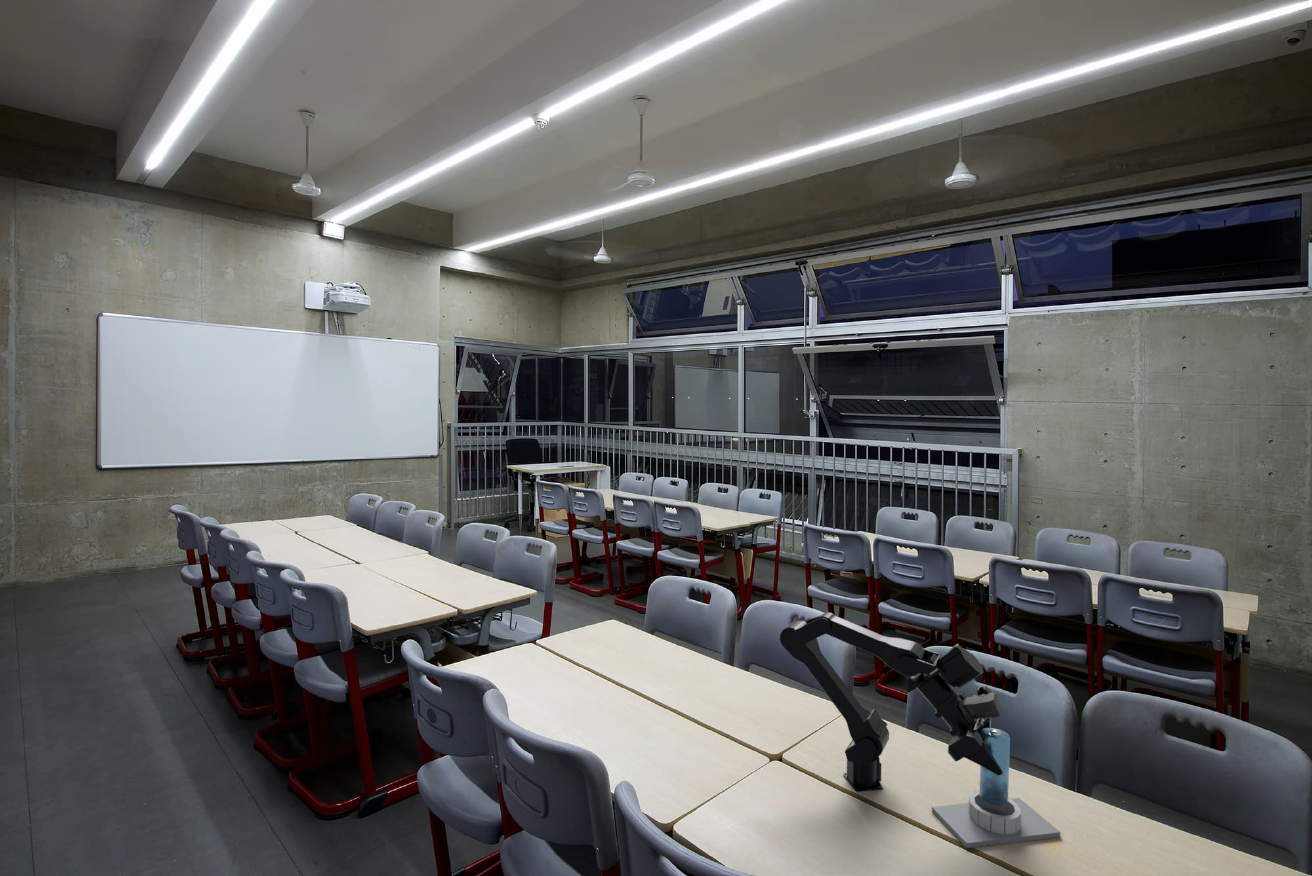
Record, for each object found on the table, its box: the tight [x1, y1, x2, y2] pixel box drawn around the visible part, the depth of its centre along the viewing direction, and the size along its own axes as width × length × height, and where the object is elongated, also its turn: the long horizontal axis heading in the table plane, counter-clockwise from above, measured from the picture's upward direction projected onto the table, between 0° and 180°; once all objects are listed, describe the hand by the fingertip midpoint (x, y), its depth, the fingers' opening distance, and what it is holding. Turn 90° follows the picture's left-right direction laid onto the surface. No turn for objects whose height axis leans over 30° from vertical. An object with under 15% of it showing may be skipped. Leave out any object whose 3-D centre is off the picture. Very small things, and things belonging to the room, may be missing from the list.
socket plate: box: [931, 790, 1061, 849], centre depth 124 cm, size 20×11×4 cm, turn 99°
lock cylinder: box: [979, 727, 1011, 806], centre depth 124 cm, size 5×5×14 cm
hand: (1002, 767), depth 123 cm, fingers closed on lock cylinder, 5 cm apart
